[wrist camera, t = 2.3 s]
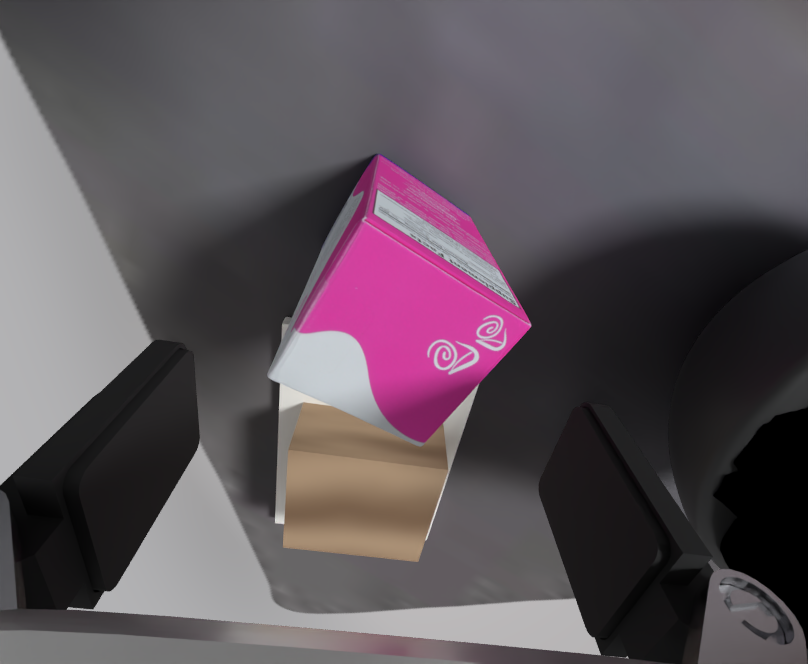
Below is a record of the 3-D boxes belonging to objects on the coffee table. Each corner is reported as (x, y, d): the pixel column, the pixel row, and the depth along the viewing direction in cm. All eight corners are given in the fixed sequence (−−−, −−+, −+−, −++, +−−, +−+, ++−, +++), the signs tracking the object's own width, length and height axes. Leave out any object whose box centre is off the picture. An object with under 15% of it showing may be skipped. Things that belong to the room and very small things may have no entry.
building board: (285, 316, 24) (281, 323, 23) (486, 347, 25) (488, 355, 24) (277, 513, 33) (275, 523, 32) (426, 530, 34) (426, 539, 33)
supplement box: (412, 302, 24) (418, 456, 14) (319, 247, 22) (250, 376, 12) (476, 217, 21) (539, 329, 11) (377, 147, 20) (349, 208, 10)
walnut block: (303, 402, 26) (288, 449, 23) (443, 421, 27) (448, 470, 24) (296, 495, 31) (282, 547, 27) (416, 509, 32) (417, 561, 28)
